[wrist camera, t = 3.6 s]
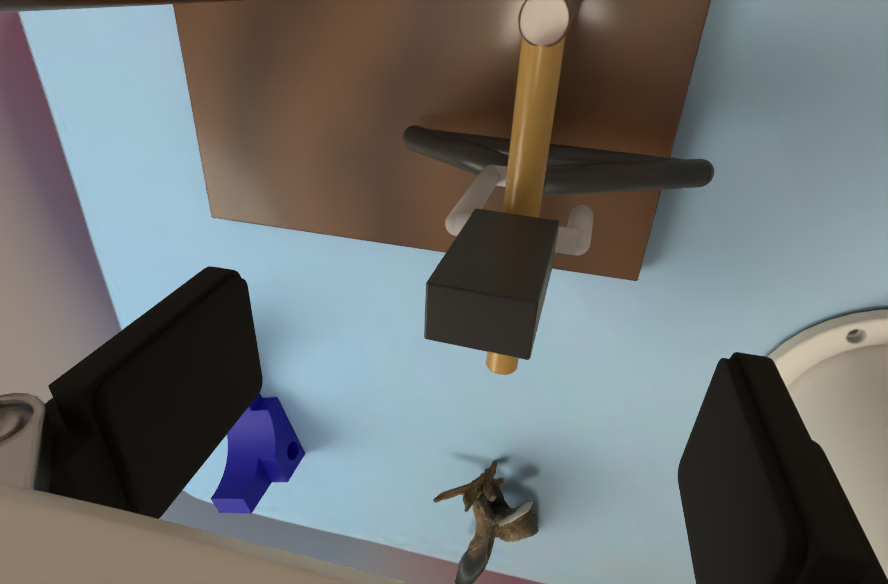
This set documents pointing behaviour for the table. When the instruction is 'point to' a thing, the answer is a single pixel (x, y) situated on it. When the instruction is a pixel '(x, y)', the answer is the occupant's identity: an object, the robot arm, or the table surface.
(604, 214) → the rack
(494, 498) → the eagle figurine
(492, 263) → the hanger
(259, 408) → the cable clip
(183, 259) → the table surface
